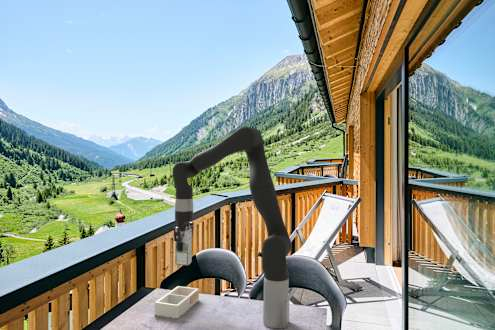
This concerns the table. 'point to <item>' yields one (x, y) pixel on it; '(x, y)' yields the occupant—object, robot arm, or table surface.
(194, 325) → the table surface
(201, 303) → the table surface
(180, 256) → the syrup box
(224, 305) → the table surface
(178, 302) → the box
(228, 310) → the table surface
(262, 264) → the robot arm
